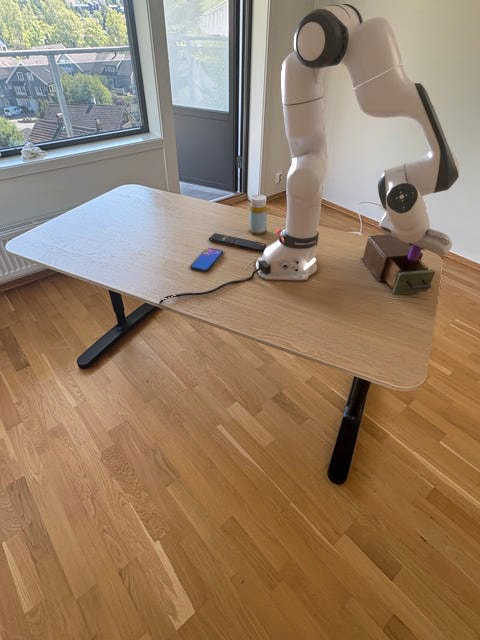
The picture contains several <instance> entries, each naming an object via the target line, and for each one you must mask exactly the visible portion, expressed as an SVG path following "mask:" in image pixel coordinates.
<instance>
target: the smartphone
mask: <svg viewBox="0 0 480 640" xmlns="http://www.w3.org/2000/svg"><path fill="white" fill-rule="evenodd" d="M207 248H208V250H209V251H208V250H207V251H208V254H209V255H208V254H203V252H202V253H201V254H200V255H199V256H198V257H197V258H196V259H195V260H194V261H193V262H192V263H191V264H190V269H192V270H195V271H201V272H208V271H209V270H210V269H211V268H212V267H213V266H214V265H215V263H216V262H217V261H218V260H219V258H220V257H221V256H222V255H223V253H224V251H223V250H222V249H217V248H212V247H207Z"/></svg>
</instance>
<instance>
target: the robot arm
mask: <svg viewBox="0 0 480 640" xmlns="http://www.w3.org/2000/svg"><path fill="white" fill-rule="evenodd" d="M293 50H294V51H292V52H291V53H289V54H287V56H286V57H285V59H284V60H283V62H282V69H281V100H282V113H283V120H284V121H283V122H284V130H285V137H286V140H287V142H288V147H289V153H290V156H291V165H290V167H289V169H288V171H287V175H286V189H285V190H286V191H285V192H286V217H285V228H284V229H283V230H282V228H280V227H278V228H276V230H275V234H276V235H277V236H278V239H277V240H276V241H274V242H272V243H271V244H269V245H268V246H266V248H265V250H264V251H262V252H263V253H262V256H259V257H258V258H257V259H256V261H255V270H254V271H253V272H252V273H251V276H249V277H247V278H244V279H240V280H232V281H228V282H225V283H222V284H221V285H219V286H217V287H215V288H213V289H210V290H207V291H202V292H183V293H177V294H175V295H176V296H173V295H174V294H169V295H167V296H164V297H163V298H167V299H170V298H178V297H184V296H201V295H203V296H204V295H207V294H211V293H213V292H216V291H219V290H220V289H223V288H224V287H226V286H229V285H231V284H238V283H243V282H246V281H250V280H252V279H253V278H254V276H255V274H258V276H260V278H262V279H264V280H274V281H276V280H277V281H278V280H279V281H302V282H303V281H306V280H308V279H309V278H310V276H312V275H313V274H315V273H316V272H317V270H318V264H317V247H318V243H319V239H320V238H319V237H320V234H319V233H320V232H319V227H320V219H321V213H322V201H323V195H324V194H323V192H324V187H325V186H324V185H325V181H326V177H327V173H328V170H329V159H328V158H329V157H328V145H327V137H326V124H325V122H326V121H325V101H324V100H325V99H324V96H325V95H324V75H325V72H326V71H327V68H329V67H334V66H338V65H339V64H342V65H344V66H345V67H346V68H347V70H348V73H349V76H350V79H351V84H352V87H353V92H354V95H355V98H356V101H357V104H358V106H359V108H360V110H361V111H362V112H363V113H364V114H366V115H368V116H369V117H373V118H381V119H383V118H385V119H387V118H399V117H400V118H408V119H409V118H410V119H412V120H414V121H416V122H417V124H418V125H419V128H420V131H421V133H422V135H423V137H424V140H425V142H426V144H427V147H428V149H429V151H428V152H427V153H426V154H425V155H422V156H419V157H417V158H413V159H411V160H408V161H406V162H402V163H399V164H397V165H394V166H392V167H389V168H386V169H385V170H384V171H383V172H382V174H381V176H380V178H379V180H378V182H377V192H378V197H379V200H380V204H381V205H382V208H383V209H384V210H385V211H386V212H385V213H384V215H383V217H382V218H381V220H380V221H379V223H378V228H379V229H380V231H381V232H382V233H383V234H384V235H390V236H393V237H395V238H398V239H399V240H401V241H403V242H406V243H407V244H408V245H411V246H412V244H414V245H416V246H419V247H420V248H421V251H424V252H426V251H430V252H432V253H436V254H437V255H439V256H446V255H447V254H448V253H449V252H450V250H452V247H453V242H452V240H451V238H450V237H449V235H448V234H446V233H444V232H441V231H439V230H437V229H436V230H435V229H433V228H430V227H431V223H430V219H429V215H428V212H427V206H426V203H425V199H424V198H423V197H424V196H427V195H431V194H436V193H440V192H444V191H449V189H450V188H452V186H453V185H454V184H455V183H456V182H457V180H458V179H459V177H460V165H459V161H458V159H457V157H456V155H455V153H454V152H453V150H452V149H451V147H450V146H449V144H448V141H447V137H446V135H445V131H444V129H443V126H442V124H441V121H440V119H439V117H438V114H437V112H436V109H435V106H434V104H433V103H432V101H431V99H430V96H429V93H428V91H427V89H426V88H425V87H424V84H422V83H420V82H413V81H412V79H410V78H409V76H408V75H407V73H406V71H405V68H404V65H403V60H402V55H401V52H400V49H399V45H398V42H397V38H396V36H395V33H394V31H393V29H392V27H391V24H390V22H389V21H388V20H387V19H386V18H385V17H381V16H377V17H376V16H375V17H371V18H369V19H366V20H364V19H363V16H362V14H361V13H360V11H359V9H357V8H356V7H355V6H353V5H352V4H349V3H340V4H339V3H334V4H328V5H325V6H324V7H322V8H316V9H314V10H312V11H310V12H309V13H307V14H306V15H305V16H304V17H303V18H302V19H301V20H300V21H299V23H298V26H297V28H296V30H295V33H294V37H293ZM171 296H173V297H171ZM168 297H170V298H168ZM165 300H166V299H164V300H162V299H160V300H159V302H158V304H162V303H163V302H164V301H165Z"/></svg>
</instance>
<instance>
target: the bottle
mask: <svg viewBox="0 0 480 640" xmlns="http://www.w3.org/2000/svg"><path fill="white" fill-rule="evenodd" d="M267 216H268V208H267V196H266V195H264V194H252V195H251V197H250V207H249V232H251V234H253V235H257V236H259V235H263V234H265V233H266V232H267V219H268V218H267Z"/></svg>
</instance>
